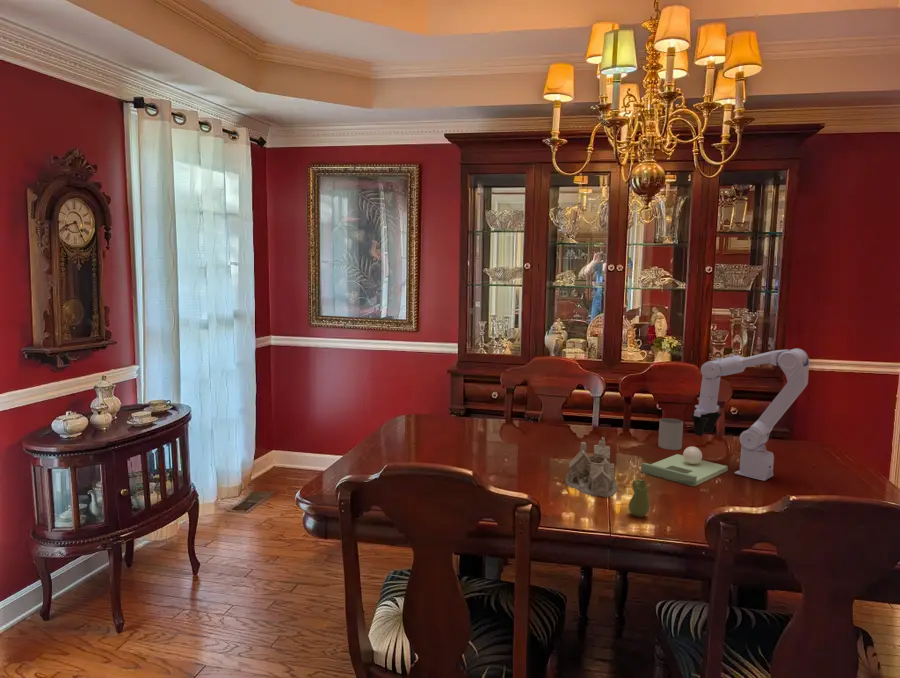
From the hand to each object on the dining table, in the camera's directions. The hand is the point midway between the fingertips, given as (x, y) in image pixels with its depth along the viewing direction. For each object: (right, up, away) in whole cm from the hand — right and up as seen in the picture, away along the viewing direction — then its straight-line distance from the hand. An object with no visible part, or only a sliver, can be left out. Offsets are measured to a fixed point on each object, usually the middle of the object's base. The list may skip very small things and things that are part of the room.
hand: (703, 433), depth 215 cm
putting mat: (-9, -11, -8) cm, 17 cm away
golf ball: (-6, -7, -5) cm, 10 cm away
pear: (-36, -16, -46) cm, 61 cm away
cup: (-4, -8, +22) cm, 23 cm away
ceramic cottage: (-44, -13, -23) cm, 52 cm away
